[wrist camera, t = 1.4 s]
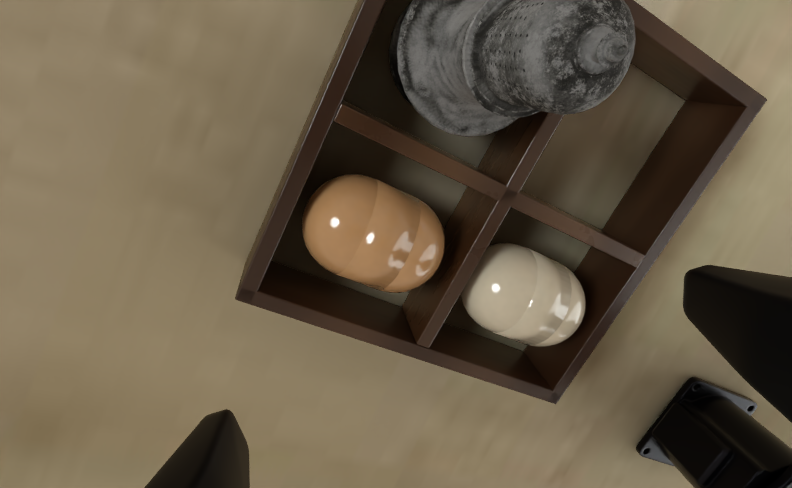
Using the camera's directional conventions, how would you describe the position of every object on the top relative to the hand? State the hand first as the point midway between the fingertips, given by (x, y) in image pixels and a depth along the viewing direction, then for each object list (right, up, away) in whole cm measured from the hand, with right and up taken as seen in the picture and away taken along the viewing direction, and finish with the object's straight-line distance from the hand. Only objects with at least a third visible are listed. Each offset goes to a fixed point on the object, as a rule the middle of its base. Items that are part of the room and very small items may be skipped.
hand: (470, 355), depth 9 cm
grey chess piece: (+1, +10, +11) cm, 15 cm away
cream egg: (+4, 0, +16) cm, 16 cm away
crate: (+3, +5, +14) cm, 15 cm away
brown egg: (-3, +3, +13) cm, 14 cm away
